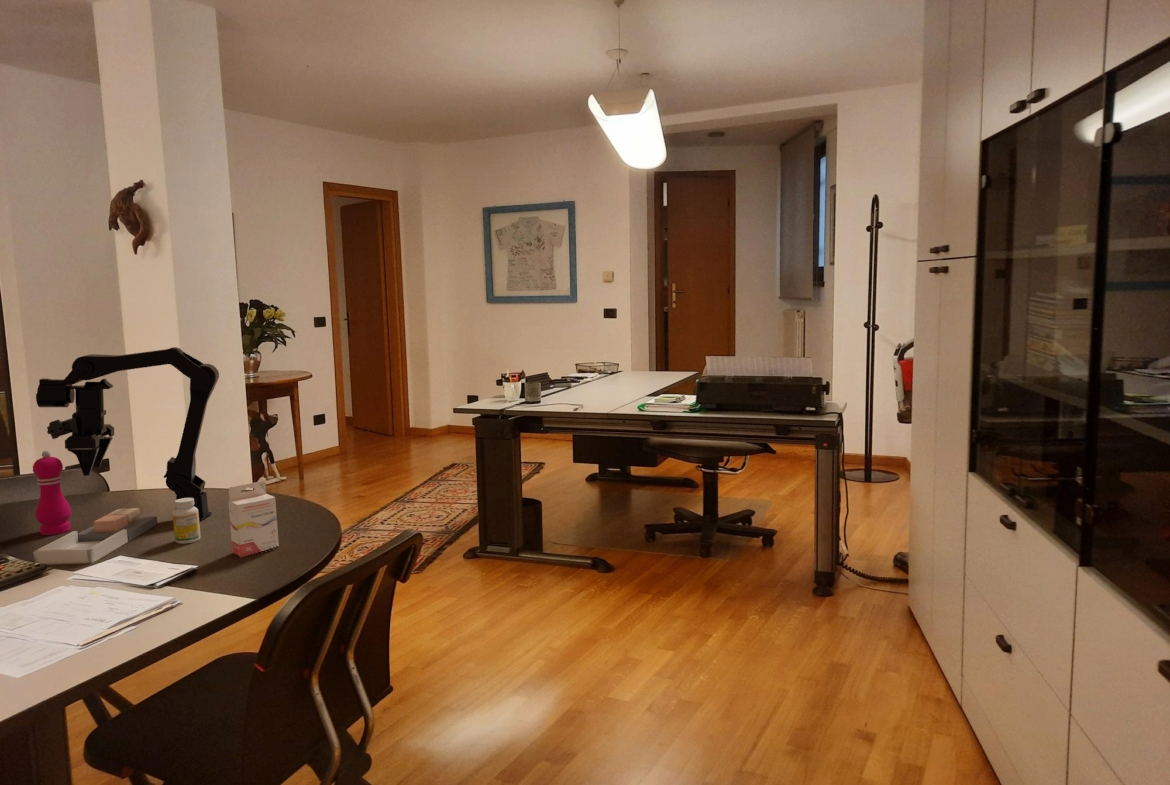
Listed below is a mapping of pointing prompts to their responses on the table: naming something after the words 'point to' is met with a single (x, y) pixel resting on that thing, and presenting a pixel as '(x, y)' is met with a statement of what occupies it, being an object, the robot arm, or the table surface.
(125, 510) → the birch tile
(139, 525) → the board
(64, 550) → the box
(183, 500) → the supplement bottle
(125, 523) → the terracotta tile
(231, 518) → the ink cartridge box
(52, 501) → the pepper mill
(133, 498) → the table surface
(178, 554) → the table surface
